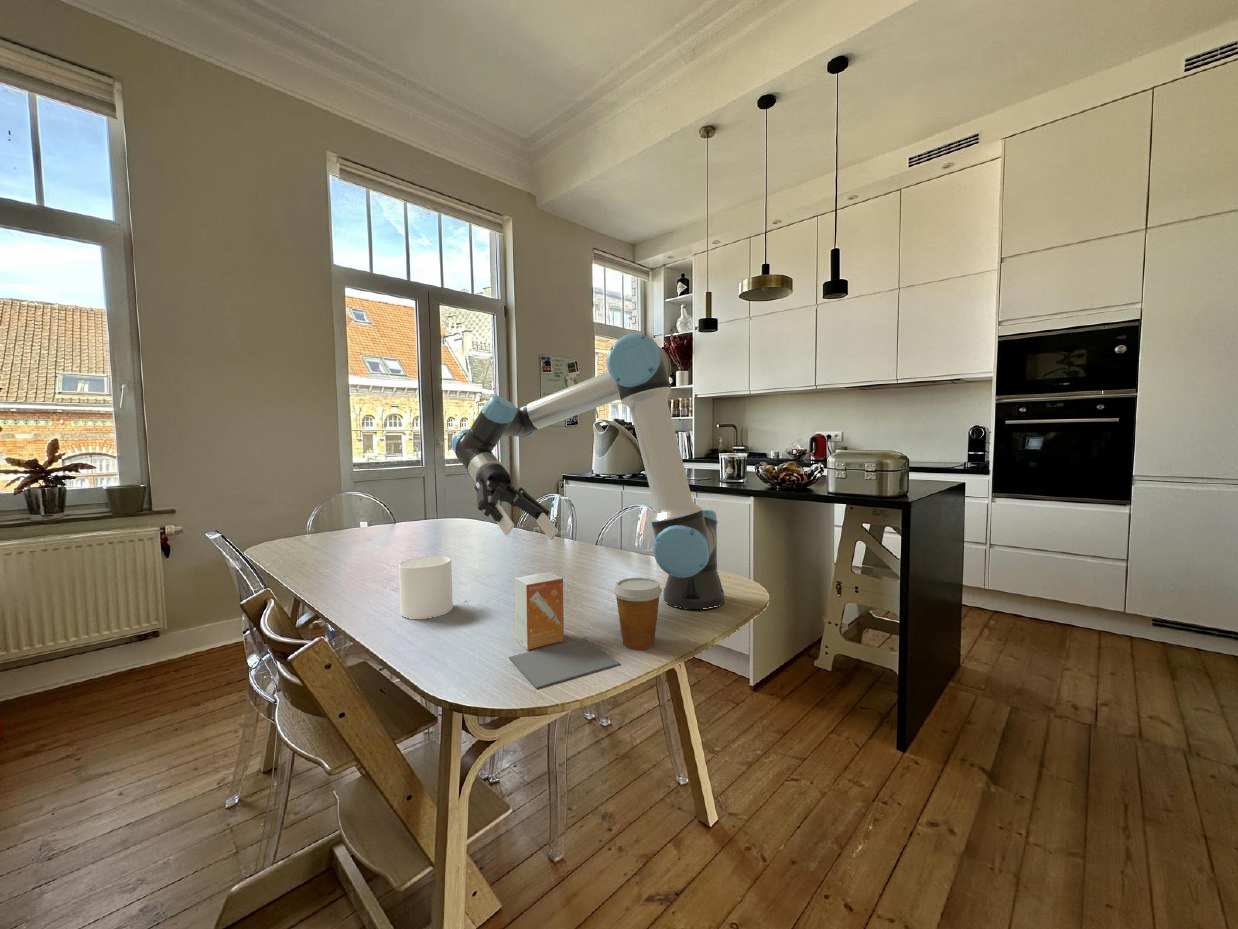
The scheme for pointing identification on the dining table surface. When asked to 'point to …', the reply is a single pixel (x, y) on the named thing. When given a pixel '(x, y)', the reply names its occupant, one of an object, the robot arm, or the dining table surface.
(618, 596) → the disposable coffee cup
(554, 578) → the small box
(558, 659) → the rubber mat
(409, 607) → the white cylinder
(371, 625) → the dining table surface
